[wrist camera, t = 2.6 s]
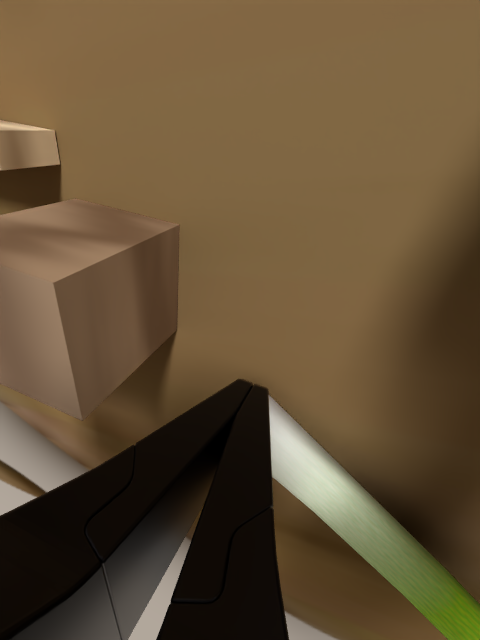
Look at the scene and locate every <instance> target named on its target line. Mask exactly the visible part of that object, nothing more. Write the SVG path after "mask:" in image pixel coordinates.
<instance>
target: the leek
mask: <svg viewBox="0 0 480 640" xmlns="http://www.w3.org/2000/svg"><path fill="white" fill-rule="evenodd" d="M269 415H270V439H271V463H272V477H273V478H274V479H276V480H277V481H278V482H279V483H280V484H282V485H283V486H284V487H285V488H286V489H287V490H289V491H290V492H291V493H292V494H293V495H294V496H296V497H297V498H298V499H299V500H300V501H302V502H303V503H304V504H305V505H306V506H307V507H309V508H310V509H311V510H312V511H313V512H314V513H315V514H317V515H318V516H319V517H320V518H321V519H322V520H323V521H324V522H325V523H326V524H327V525H328V526H330V527H331V528H332V529H333V530H334V531H335V532H336V533H337V534H338V535H339V536H340V537H341V538H342V539H344V540H345V541H346V542H347V543H348V544H349V545H350V546H351V547H352V548H353V549H354V550H355V551H356V552H358V553H359V554H360V555H361V556H362V557H363V558H364V559H365V560H366V561H367V562H368V563H369V564H370V565H372V566H373V567H374V568H375V569H376V570H377V571H378V572H379V573H380V574H381V575H382V576H383V577H384V578H386V579H387V580H388V581H389V582H390V583H391V584H392V585H393V586H394V587H395V588H396V589H397V590H399V591H400V592H401V593H402V594H403V595H404V596H405V597H406V598H407V599H408V600H409V601H410V602H411V603H412V604H413V605H414V606H415V607H416V608H417V609H418V610H419V611H420V612H421V613H422V614H423V615H424V616H425V617H426V618H427V619H428V620H429V621H430V622H431V623H432V624H433V625H434V626H435V627H436V628H437V629H438V630H439V631H440V632H441V633H442V634H443V635H444V636H445V637H446V638H447V639H448V640H480V604H479V603H478V602H477V601H476V600H475V599H474V598H473V597H472V596H471V595H470V594H469V593H468V592H467V591H466V590H465V589H464V588H463V586H462V585H461V584H460V583H459V582H458V581H457V580H456V579H455V578H454V577H453V576H452V575H451V574H450V573H449V572H448V571H447V570H446V569H445V568H444V567H443V566H442V565H441V564H440V563H439V562H438V561H437V560H436V559H435V558H434V557H433V556H432V555H431V554H430V553H429V552H428V551H427V550H426V549H425V548H424V547H423V546H422V545H421V544H420V543H419V542H418V541H417V540H416V539H415V538H414V537H413V536H412V535H411V534H410V533H409V532H408V531H407V530H406V529H405V528H404V527H403V526H402V525H401V524H400V523H399V522H398V521H397V520H396V519H395V518H394V517H393V516H392V515H391V514H390V513H388V512H387V511H386V510H385V509H384V508H383V507H382V506H381V505H380V504H379V503H378V502H377V501H376V500H375V499H374V498H373V497H372V496H371V495H370V494H369V493H368V492H367V491H366V490H365V489H364V488H363V487H362V486H361V485H360V484H359V483H358V482H357V481H356V480H355V479H354V478H353V477H352V476H351V475H350V474H349V473H348V472H347V471H346V470H345V469H344V468H343V467H342V466H341V465H340V464H339V463H338V462H337V461H336V460H335V459H334V458H333V457H332V456H331V455H330V454H328V453H327V452H326V451H325V450H324V449H323V448H322V447H321V446H320V445H319V444H318V443H317V442H316V441H315V440H314V439H313V438H312V437H311V436H310V435H309V434H308V433H307V432H306V431H305V430H304V429H303V428H302V427H301V426H300V425H299V424H298V423H297V422H296V421H295V420H294V419H293V418H292V417H291V416H290V415H289V414H288V413H287V412H286V411H285V410H284V409H283V408H282V407H281V406H280V405H279V404H278V403H277V402H276V401H275V400H274V399H273V398H272V397H271V396H270V395H269Z"/></svg>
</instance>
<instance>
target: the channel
mask: <svg viewBox="0 0 480 640" xmlns="http://www.w3.org/2000/svg"><path fill="white" fill-rule="evenodd" d="M59 164H60V160H59V154H58V148H57V142H56V136H55V130H50V129H44V128H39V127H34V126H29V125H23V124H18V123H13V122H8V121H3V120H0V170H11V169H21V168H31V167H40V166H50V165H59Z"/></svg>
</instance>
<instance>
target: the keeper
mask: <svg viewBox="0 0 480 640" xmlns="http://www.w3.org/2000/svg"><path fill="white" fill-rule="evenodd" d="M178 270H179V224H175V223H171V222H167V221H163V220H159V219H155V218H151V217H148V216H144V215H140V214H136V213H132V212H128V211H124V210H120V209H116V208H112V207H108V206H104V205H100V204H96V203H92V202H88V201H84V200H80V199H76V198H75V199H71V200H66V201H62V202H57V203H53V204H48V205H44V206H39V207H35V208H30V209H26V210H21V211H17V212H12V213H8V214H3V215H0V384H2V385H4V386H7V387H9V388H11V389H13V390H15V391H18V392H20V393H22V394H24V395H26V396H29V397H31V398H33V399H35V400H37V401H40V402H42V403H44V404H46V405H48V406H51V407H53V408H55V409H57V410H59V411H62V412H64V413H66V414H68V415H70V416H73V417H75V418H77V419H79V420H81V421H83V420H84V419H85V418H86V417H87V416H88V415H89V414H90V413H91V412H92V411H93V410H94V409H95V408H97V407H98V406H99V405H100V404H101V403H102V402H103V401H104V400H105V399H106V398H107V397H108V396H109V395H110V394H111V393H112V392H113V391H114V390H115V389H116V388H117V387H118V386H119V385H120V384H121V383H122V382H123V381H124V380H126V379H127V378H128V377H129V376H130V375H131V374H132V373H133V372H134V371H135V370H136V369H137V368H138V367H139V366H140V365H141V364H142V363H143V362H144V361H145V360H146V359H147V358H148V357H149V356H150V355H151V354H152V353H153V352H155V351H156V350H157V349H158V348H159V347H160V346H161V345H162V344H163V343H164V342H165V341H166V340H167V339H168V338H169V337H170V336H171V335H172V334H173V333H174V332H175V331H176V330H177V315H178Z"/></svg>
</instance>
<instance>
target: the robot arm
mask: <svg viewBox="0 0 480 640" xmlns="http://www.w3.org/2000/svg"><path fill="white" fill-rule="evenodd" d="M205 500H206V501H205ZM204 502H205V503H204ZM203 504H204V506H203ZM202 506H203V509H202V512H201V515H200V518H199V521H198V524H197V526H196V529H195V532H194V535H193V538H192V541H191V544H190V547H189V550H188V552H187V555H186V558H185V561H184V564H183V567H182V570H181V573H180V575H179V578H178V581H177V584H176V587H175V589H174V592H173V595H172V598H171V604H170V605H169V607H168V610H167V612H166V615H165V618H164V621H163V624H162V626H161V629H160V631H159V634H158V637H157V639H156V640H289V637H288V630H287V624H286V618H285V612H284V605H283V599H282V593H281V586H280V579H279V571H278V563H277V555H276V543H275V529H274V510H273V487H272V463H271V439H270V415H269V391H268V389H267V388H265V387H262V386H260V385H257V384H254V385H253V384H252V383H251V382H249V381H246V380H243V379H238V380H236V381H234V382H233V383H231V384H230V385H228V386H226V387H225V388H223V389H222V390H220V391H218V392H217V393H215V394H214V395H212V396H210V397H209V398H207V399H206V400H204V401H203V402H201V403H199V404H198V405H196V406H195V407H193V408H191V409H190V410H188V411H187V412H185V413H183V414H182V415H180V416H179V417H177V418H175V419H174V420H172V421H171V422H169V423H167V424H166V425H164V426H163V427H161V428H159V429H158V430H156V431H155V432H153V433H152V434H150V435H148V436H147V437H145V438H144V439H142V440H140V441H139V442H137V443H136V444H135V446H134V445H132V446H131V447H129V448H127V449H126V450H124V451H123V452H121V453H119V454H118V455H116V456H114V457H113V458H111V459H109V460H108V461H106V462H104V463H103V464H101V465H99V466H97V467H96V468H94V469H92V470H90V471H88V472H86V473H84V474H82V475H81V476H79V477H77V478H75V479H73V480H71V481H69V482H67V483H65V484H63V485H61V486H59V487H57V488H55V489H53V490H51V491H49V492H47V493H45V494H43V495H41V496H39V497H37V498H35V499H33V500H31V501H29V502H27V503H25V504H23V505H21V506H19V507H17V508H15V509H13V510H11V511H9V512H8V513H5V514H3V515H1V516H0V640H128V638H129V637H130V635H131V633H132V631H133V629H134V627H135V626H136V624H137V622H138V620H139V619H140V617H141V615H142V613H143V611H144V610H145V608H146V606H147V604H148V602H149V601H150V599H151V597H152V595H153V594H154V592H155V590H156V588H157V586H158V585H159V583H160V581H161V579H162V577H163V576H164V574H165V572H166V570H167V568H168V567H169V565H170V563H171V561H172V559H173V558H174V556H175V554H176V552H177V551H178V549H179V547H180V545H181V543H182V542H183V540H184V538H185V536H186V534H187V533H188V531H189V529H190V527H191V525H192V524H193V522H194V520H195V518H196V516H197V515H198V513H199V511H200V509H201V508H202Z"/></svg>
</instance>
